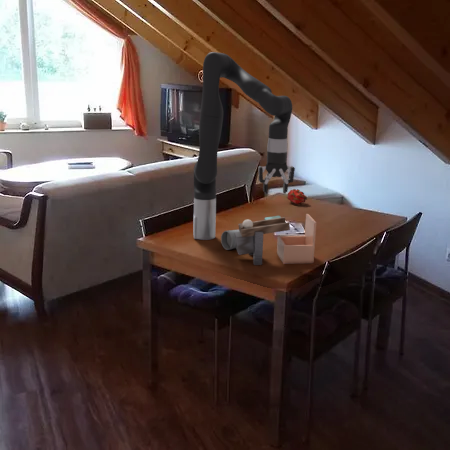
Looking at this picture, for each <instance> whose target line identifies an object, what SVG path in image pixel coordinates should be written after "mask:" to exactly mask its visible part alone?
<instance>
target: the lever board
mask: <svg viewBox="0 0 450 450" xmlns="http://www.w3.org/2000/svg"><path fill="white" fill-rule="evenodd" d="M252 222H253V227H252V228H247V229H244V228H243V226H242V224H243V222H242V223H238V230H239V231H240V232H234V233H235V242H236V248H235V250H236V253H237V254H238V256H239V255H240V256H241V255H247V254H249V253H254V244H253V236H254V231H263V235H267V234H273V233H281V232H287V231H290V230H291V226H290V224H291V223H290V222H288V221H287V222H286V217H285V216H283V217H281V215H274V216H267V217H264V219H262V220H261V219H260V220H256V221H252Z"/></svg>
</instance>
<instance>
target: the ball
mask: <svg viewBox="0 0 450 450" xmlns="http://www.w3.org/2000/svg"><path fill="white" fill-rule="evenodd" d="M253 222H254V221H252V220H251V219H249V218H248V219H244V220H243V221H242V223H243V224H242V226H243V228H244V229H247V228H252V227H253Z"/></svg>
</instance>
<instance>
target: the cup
mask: <svg viewBox="0 0 450 450" xmlns="http://www.w3.org/2000/svg"><path fill="white" fill-rule="evenodd" d="M316 233H317V221H315V219H314V218H313V217H312V216H311V215H310V214H309V213H306V214H305V226H304V235H290V236H289V235H287V236H284V235H283V236H282V235H281V236H280V235H279V236H277V243H276V254H277V256H278V258H279V259H280V261H281V263H282V264H283V265H284V264H286V265H287V264H289V265H291V264H292V265H293V264H314V261H315V260H314V259H315V246H316V236H317V235H316Z"/></svg>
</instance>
